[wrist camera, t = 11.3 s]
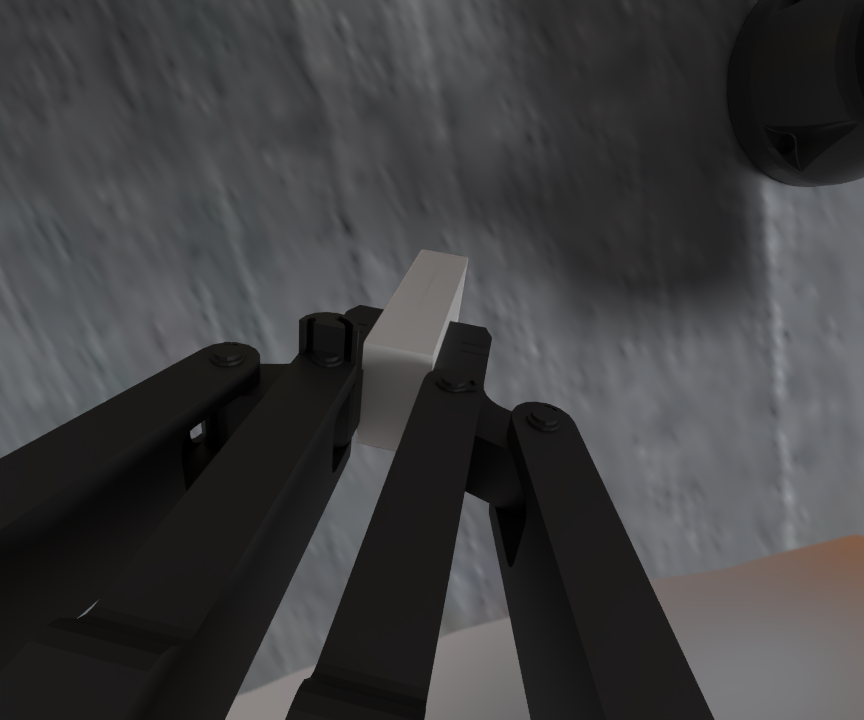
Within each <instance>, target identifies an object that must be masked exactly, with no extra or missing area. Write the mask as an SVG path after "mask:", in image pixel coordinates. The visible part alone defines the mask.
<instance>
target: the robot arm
mask: <svg viewBox="0 0 864 720" xmlns="http://www.w3.org/2000/svg"><path fill="white" fill-rule="evenodd" d="M728 103H729V111H730V116H731V120H732V124H733V127H734V130H735V133H736V135H737V138H738V140H739V142H740V144H741V146H742V147H743V149H744V151H745V152H746V154H747V155H748V156H749V158H750V159H751V160H752V161H753V163H754V164H755V165H756V166H757V167H759V168H760V169H761V170H762V171H763V172H765V173H766V174H768V175H769V176H771V177H772V178H774V179H776V180H778V181H781V182H783V183H786V184H790V185H794V186H802V187H814V186H825V185H834V184H842V183H847V182H850V181H854V180H857V179H860V178H863V177H864V0H759V2H758V3H757V4H756V6H755V7H754V8H753V10H752V11H751V13H750V14H749V16H748V18H747V20H746V21H745V23H744V25H743V27H742V29H741V31H740V34H739V36H738V39H737V41H736V44H735V47H734V50H733V54H732V58H731V63H730V68H729V76H728ZM468 258H469V257H463V256H458V255H452V254H447V253H441V252H436V251H430V250H425V249H421V251H420V253H419V254H418V256H417V258H416V259H415V261H414V262H413V264H412V266H411V267H410V269H409V270H408V272H407V274H406V275H405V277H404V278H403V280H402V282H401V283H400V285H399V286H398V288H397V290H396V291H395V293H394V295H393V296H392V298H391V299H390V301H389V303H388V304H387V306H386V307H385V309H379V308H373V307H368V306H363V305H359V306H357V307H355V308H353V309H350V310H348V311H347V312H346V313H345V314H344V315H342V314H339V313H330V312H321V313H313V314H310V315H306V316H304V317H303V318H301V319H300V320H299V354H298V355H297V356H296V357H295V359H294V360H293V361H292V362H291V363H290V364H260V354H259V353H258V351H257V350H256V349H255V348H253V347H251V346H249V345H246V344H241V343H237V342H232V343H231V342H224V343H219V344H213V345H211V346H208V347H206V348H203V349H201V350H199V351H198V352H196V353H194V354H192V355H190V356H188V357H187V358H185V359H183V360H181V361H179V362H177V363H175V364H174V365H172V366H170V367H168V368H166V369H164V370H163V371H161V372H159V373H157V374H155V375H153V376H152V377H150V378H148V379H146V380H144V381H142V382H141V383H139V384H137V385H135V386H133V387H131V388H129V389H128V390H126V391H124V392H122V393H120V394H118V395H117V396H115V397H113V398H111V399H109V400H107V401H106V402H104V403H102V404H100V405H98V406H96V407H94V408H93V409H91V410H89V411H87V412H85V413H83V414H82V415H80V416H78V417H76V418H74V419H72V420H71V421H69V422H67V423H65V424H63V425H61V426H59V427H58V428H56V429H54V430H52V431H50V432H48V433H47V434H45V435H43V436H41V437H39V438H37V439H36V440H34V441H32V442H30V443H28V444H26V445H25V446H23V447H21V448H19V449H17V450H15V451H13V452H12V453H10V454H8V455H6V456H4V457H2V458H1V459H0V720H225V718H226V716H227V714H228V712H229V710H230V708H231V705H232V703H233V701H234V699H235V697H236V695H237V693H238V691H239V689H240V687H241V685H242V682H243V680H244V678H245V676H246V674H247V672H248V670H249V668H250V666H251V663H252V661H253V659H254V657H255V655H256V653H257V651H258V649H259V647H260V645H261V642H262V640H263V638H264V636H265V634H266V632H267V630H268V628H269V626H270V623H271V621H272V619H273V617H274V615H275V613H276V611H277V609H278V607H279V604H280V602H281V600H282V598H283V596H284V594H285V592H286V590H287V588H288V586H289V583H290V581H291V579H292V577H293V575H294V573H295V571H296V569H297V567H298V564H299V562H300V560H301V558H302V556H303V554H304V552H305V550H306V548H307V546H308V543H309V541H310V539H311V537H312V535H313V533H314V531H315V529H316V527H317V524H318V522H319V520H320V518H321V516H322V514H323V512H324V510H325V508H326V505H327V503H328V501H329V499H330V497H331V495H332V493H333V491H334V489H335V487H336V484H337V482H338V480H339V478H340V476H341V474H342V472H343V470H344V468H345V465H346V463H347V461H348V459H349V457H350V452H351V440H352V436H353V434H354V432H355V430H356V428H357V440H356V443H359V444H364V445H368V446H373V447H377V448H382V449H387V450H391V451H396V454H395V456H394V459H393V462H392V464H391V467H390V470H389V472H388V475H387V478H386V481H385V483H384V486H383V489H382V491H381V494H380V497H379V499H378V502H377V505H376V507H375V510H374V513H373V515H372V518H371V521H370V523H369V526H368V529H367V531H366V534H365V537H364V540H363V542H362V545H361V548H360V550H359V553H358V556H357V558H356V561H355V564H354V566H353V569H352V572H351V574H350V577H349V580H348V582H347V585H346V588H345V590H344V593H343V596H342V599H341V601H340V604H339V607H338V609H337V612H336V615H335V617H334V620H333V623H332V625H331V628H330V631H329V633H328V636H327V639H326V641H325V644H324V647H323V649H322V652H321V655H320V657H319V660H318V663H317V665H316V667H315V670H314V672H313V674H312V675H311V677H310V678H307V679H304V681H303V682H302V684H301V685H300V687H299V689H298V691H297V693H296V695H295V697H294V700H293V702H292V704H291V706H290V709H289V711H288V714H287V717H286V719H285V720H424V718H425V712H426V703H427V696H428V691H429V685H430V680H431V674H432V669H433V663H434V658H435V652H436V647H437V641H438V636H439V630H440V625H441V619H442V614H443V608H444V603H445V597H446V592H447V586H448V581H449V575H450V570H451V564H452V559H453V553H454V548H455V542H456V537H457V531H458V526H459V520H460V515H461V509H462V504H463V498H464V493H465V491H466V492H468V493H470V494H472V495H474V496H476V497H478V498H480V499H482V500H484V501H486V502H488V503H489V516H490V521H491V526H492V531H493V536H494V541H495V546H496V551H497V556H498V561H499V565H500V570H501V575H502V580H503V585H504V590H505V595H506V600H507V605H508V610H509V615H510V620H511V624H512V630H513V634H514V640H515V645H516V649H517V654H518V659H519V664H520V669H521V674H522V679H523V684H524V689H525V694H526V699H527V704H528V709H529V713H530V719H531V720H714V718H713V716H712V713H711V711H710V709H709V707H708V705H707V703H706V701H705V699H704V696H703V694H702V692H701V690H700V688H699V686H698V684H697V682H696V680H695V677H694V675H693V673H692V671H691V669H690V667H689V665H688V662H687V660H686V658H685V656H684V654H683V652H682V650H681V648H680V645H679V643H678V641H677V639H676V637H675V635H674V633H673V631H672V628H671V626H670V624H669V622H668V620H667V618H666V616H665V613H664V611H663V609H662V607H661V605H660V603H659V601H658V599H657V596H656V595H655V592H654V590H653V588H652V586H651V584H650V582H649V579H648V577H647V575H646V573H645V571H644V569H643V567H642V565H641V562H640V560H639V558H638V556H637V554H636V552H635V550H634V548H633V545H632V543H631V541H630V539H629V537H628V535H627V533H626V530H625V528H624V526H623V524H622V522H621V520H620V518H619V516H618V513H617V511H616V509H615V507H614V505H613V503H612V501H611V499H610V496H609V494H608V492H607V490H606V488H605V486H604V484H603V482H602V479H601V477H600V475H599V473H598V471H597V469H596V467H595V465H594V462H593V460H592V458H591V456H590V454H589V452H588V450H587V447H586V445H585V443H584V441H583V439H582V437H581V435H580V433H579V430H578V428H577V426H576V424H575V422H574V421H573V420H572V418H571V417H570V416H569V415H568V414H567V413H565V412H564V411H563V410H561V409H560V408H557V407H555V406H552V405H550V404H547V403H540V402H525V403H522V404H520V405H517V406H516V407H515V408H514V409H513V411H510V410H507V409H505V408H503V407H501V406H499V405H497V404H496V403H494V402H493V401H492V400H490V398H489V397H488V396H487V395H486V393H485V391H484V379H485V374H486V368H487V363H488V357H489V351H490V346H491V340H492V337H491V335H490V334H489V332H488V330H487V329H486V328H484V327H479V326H474V325H469V324H464V323H458V317H459V311H460V305H461V299H462V294H463V288H464V282H465V276H466V270H467V264H468ZM200 423H201V427H202V433H201V434H200V435H199V436H197V437H196V438H193V439H191V437H190V431H191V430H192V429H193V428H194V427H195V426H197V425H198V424H200ZM357 426H358V427H357ZM96 601H98V602H97V603H96V604H95V605H94V607H93V608H92V609H91V610H90V611H89V612H88V613H87V614H85V615H83V616H82V617H80V618H78V617H79V616H80V615H81V614H83V613H84V612H85V611H86V610H87V609H88V608H90V607H91V606H92V605H93V604H94V603H95V602H96ZM77 618H78V619H77Z"/></svg>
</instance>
